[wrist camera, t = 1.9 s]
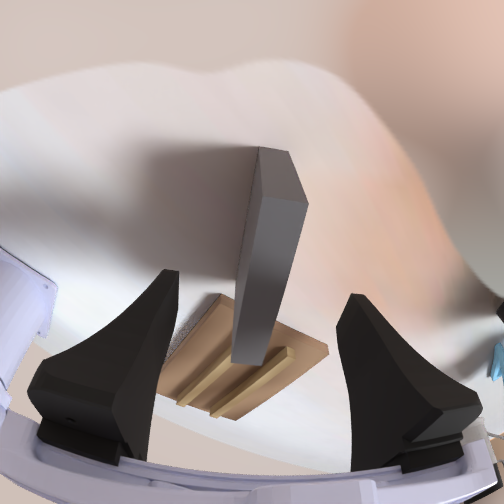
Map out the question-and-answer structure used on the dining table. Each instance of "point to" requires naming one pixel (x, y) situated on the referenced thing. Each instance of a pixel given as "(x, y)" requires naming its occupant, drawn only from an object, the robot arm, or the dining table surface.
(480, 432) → the glass holder
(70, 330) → the dining table surface
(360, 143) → the dining table surface
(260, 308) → the grey upright slab
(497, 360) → the chair
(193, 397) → the board
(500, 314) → the ammunition clip
